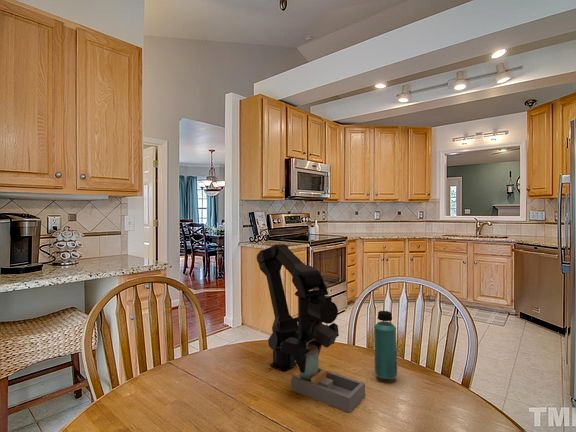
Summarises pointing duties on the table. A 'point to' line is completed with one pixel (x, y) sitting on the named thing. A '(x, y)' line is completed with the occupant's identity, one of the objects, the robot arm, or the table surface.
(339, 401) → the gray rectangular tray
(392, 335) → the beverage bottle
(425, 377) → the table surface
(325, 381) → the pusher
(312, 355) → the jar
